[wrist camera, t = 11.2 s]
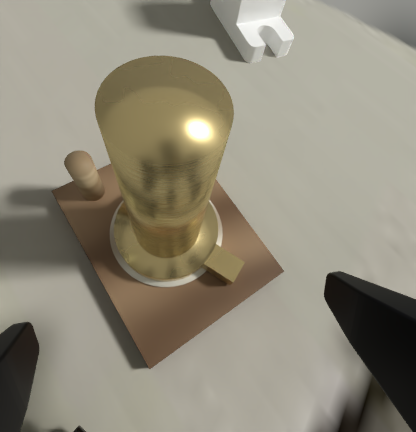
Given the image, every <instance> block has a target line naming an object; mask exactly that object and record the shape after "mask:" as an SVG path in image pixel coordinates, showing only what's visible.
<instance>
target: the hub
mask: <svg viewBox="0 0 416 432" xmlns="http://www.w3.org/2000/svg"><path fill="white" fill-rule="evenodd" d="M95 114H96V119H97V122H98V125H99V128H100V131H101V134H102V137H103V140H104V143H105V146H106V149H107V152H108V155H109V158H110V161H111V164H112V167H113V170H114V173H115V176H116V179H117V182H118V186H119V189H120V192H121V195H122V198H123V201H124V202H123V203H122V204H121V206H120V208H119V210H118V212H117V215H116V218H115V222H114V238H115V242H116V245H117V248H118V250H119V252H120V254H121V256H122V257H123V259H124V260H125V262H126V263H127V264H128V265H129V267H130V268H131V269H133V270H134V271H135V272H136V273H138V274H140V275H141V276H143V277H146V278H148V279H151V280H155V281H162V282H168V281H177V280H180V279H184V278H186V277H188V276H190V275H192V274H194V273H195V272H197V271H198V270H199V269H200V268H201V267H202V268H203V269H205V270H206V271H208V272H210V273H211V274H213V275H214V276H216V277H217V278H219V279H220V280H222V281H224V282H225V283H227V284H228V285H231V284H232V283H233V282H234V281H235V279H236V277H237V275H238V274H239V272H240V270H241V268H242V267H243V265H244V263H245V262H244V261H242V260H241V259H239V258H238V257H236V256H234V255H233V254H231V253H230V252H228V251H226V250H225V249H223V248H222V247H220V246H219V245H217V244H216V242H217V238H218V221H217V217H216V214H215V211H214V209H213V207H212V205H211V204H210V202H209V199H210V196H211V193H212V189H213V186H214V183H215V179H216V176H217V173H218V170H219V166H220V163H221V160H222V156H223V153H224V150H225V147H226V143H227V140H228V137H229V133H230V130H231V127H232V123H233V116H234V110H233V104H232V100H231V97H230V95H229V92H228V91H227V89H226V87H225V86H224V85H223V83H222V82H221V81H220V80H219V79H218V78H217V77H216V76H215V75H214V74H213V73H211V72H210V71H209V70H207V69H206V68H204V67H202V66H200V65H198V64H196V63H194V62H191V61H189V60H186V59H182V58H177V57H172V56H149V57H143V58H138V59H135V60H132V61H129V62H127V63H125V64H123V65H121V66H120V67H118V68H116V69H115V70H114V71H112V72H111V73H110V74H109V75H108V76H107V77H106V78H105V80H104V81H103V82H102V84H101V86H100V87H99V89H98V92H97V95H96V99H95Z"/></svg>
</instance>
